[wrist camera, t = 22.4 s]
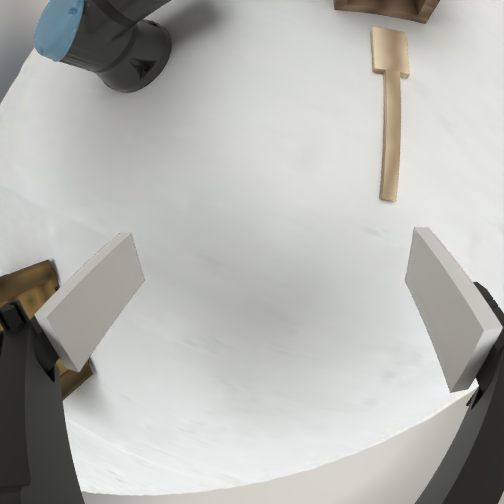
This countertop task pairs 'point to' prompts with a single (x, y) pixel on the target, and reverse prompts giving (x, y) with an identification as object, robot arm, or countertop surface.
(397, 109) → the beige long flat part
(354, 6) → the walnut shelf
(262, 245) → the countertop surface
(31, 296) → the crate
